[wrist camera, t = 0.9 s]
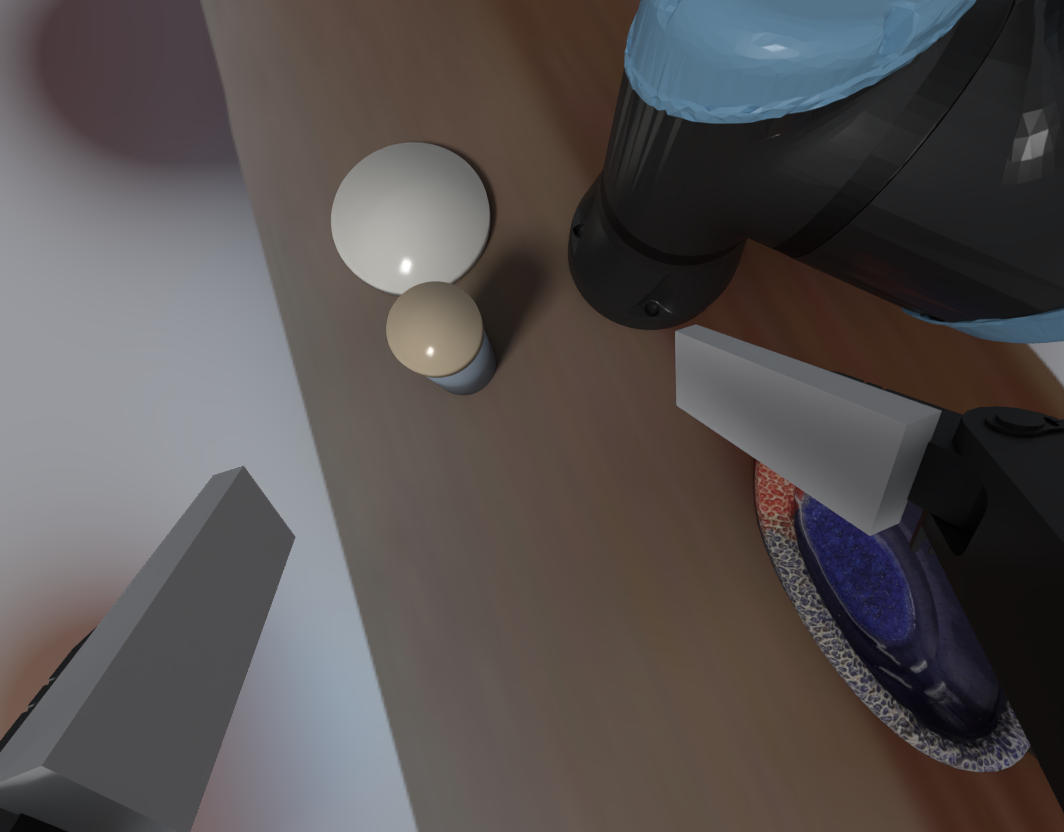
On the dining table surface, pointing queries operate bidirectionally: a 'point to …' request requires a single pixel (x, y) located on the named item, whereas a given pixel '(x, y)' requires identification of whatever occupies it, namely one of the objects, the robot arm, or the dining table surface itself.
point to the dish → (889, 627)
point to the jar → (442, 337)
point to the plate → (410, 217)
